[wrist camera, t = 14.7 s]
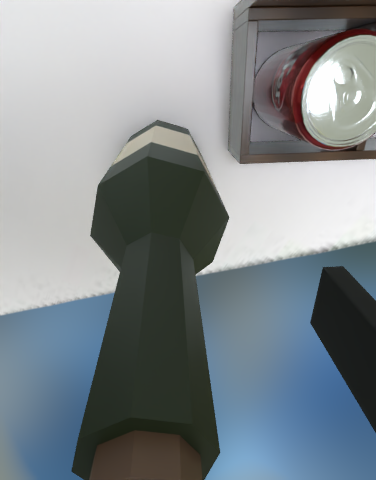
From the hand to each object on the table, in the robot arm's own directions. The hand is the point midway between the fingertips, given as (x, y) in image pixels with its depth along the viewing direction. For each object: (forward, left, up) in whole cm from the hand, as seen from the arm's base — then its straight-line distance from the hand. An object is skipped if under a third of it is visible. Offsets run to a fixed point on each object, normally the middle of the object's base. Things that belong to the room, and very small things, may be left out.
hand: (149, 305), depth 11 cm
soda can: (+13, +6, -24) cm, 28 cm away
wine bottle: (0, 0, -24) cm, 24 cm away
